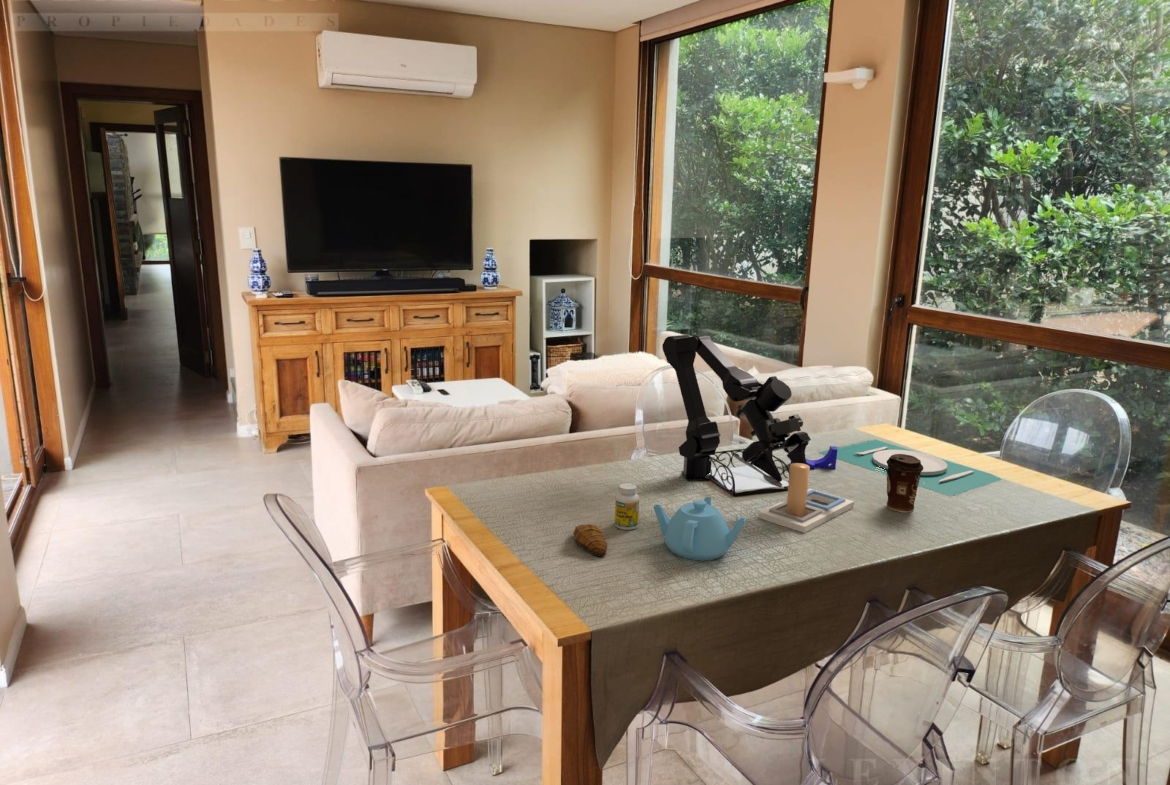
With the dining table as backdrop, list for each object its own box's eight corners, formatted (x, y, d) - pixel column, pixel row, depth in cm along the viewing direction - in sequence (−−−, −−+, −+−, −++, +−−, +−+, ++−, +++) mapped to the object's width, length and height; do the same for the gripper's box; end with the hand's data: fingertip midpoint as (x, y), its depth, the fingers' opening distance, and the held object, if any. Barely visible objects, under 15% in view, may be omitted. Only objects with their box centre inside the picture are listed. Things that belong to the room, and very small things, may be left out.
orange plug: (789, 522, 190) (794, 469, 187) (782, 514, 195) (787, 463, 192) (807, 521, 191) (812, 469, 188) (800, 514, 195) (805, 462, 192)
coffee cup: (874, 507, 202) (880, 457, 198) (888, 499, 207) (894, 450, 204) (909, 517, 196) (916, 465, 193) (923, 508, 202) (929, 458, 199)
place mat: (812, 454, 245) (812, 447, 244) (874, 440, 262) (875, 433, 261) (951, 501, 209) (952, 493, 209) (1012, 481, 226) (1014, 473, 226)
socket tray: (804, 532, 184) (805, 524, 184) (758, 517, 192) (759, 509, 192) (853, 506, 201) (854, 498, 201) (809, 493, 209) (810, 486, 209)
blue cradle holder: (792, 469, 229) (794, 448, 228) (790, 463, 234) (792, 443, 232) (836, 471, 228) (838, 451, 227) (833, 466, 233) (835, 446, 231)
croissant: (562, 536, 179) (563, 514, 178) (591, 532, 182) (591, 511, 180) (587, 561, 167) (588, 538, 166) (617, 556, 170) (618, 534, 168)
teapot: (647, 539, 178) (650, 493, 176) (706, 530, 184) (709, 485, 182) (683, 569, 165) (686, 519, 162) (745, 557, 171) (749, 509, 168)
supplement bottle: (640, 523, 187) (642, 483, 185) (634, 532, 182) (636, 491, 180) (618, 520, 188) (619, 480, 186) (611, 528, 183) (613, 488, 181)
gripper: (754, 408, 187) (788, 467, 181) (808, 399, 197) (841, 454, 191) (727, 433, 195) (758, 491, 189) (780, 423, 205) (811, 477, 199)
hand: (793, 477), depth 192 cm, fingers open, 9 cm apart
